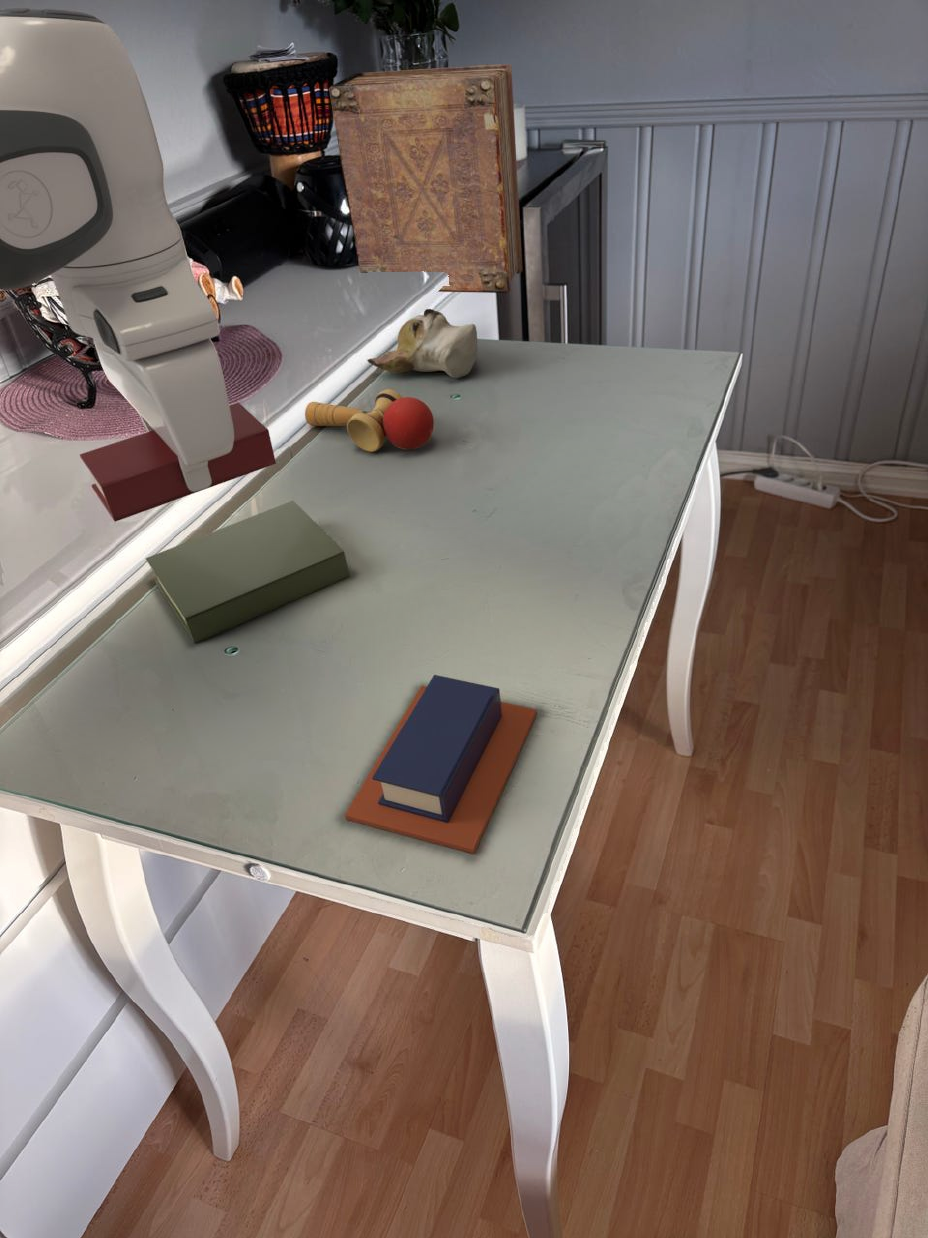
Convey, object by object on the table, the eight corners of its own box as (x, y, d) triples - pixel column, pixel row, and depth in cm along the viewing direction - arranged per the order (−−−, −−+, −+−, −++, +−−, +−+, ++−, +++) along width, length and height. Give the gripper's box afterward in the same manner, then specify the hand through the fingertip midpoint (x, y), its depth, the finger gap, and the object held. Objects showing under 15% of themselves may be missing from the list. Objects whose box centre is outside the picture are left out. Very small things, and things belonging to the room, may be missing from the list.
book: (524, 272, 151) (513, 63, 132) (509, 293, 144) (495, 75, 125) (382, 271, 158) (352, 72, 139) (362, 290, 151) (328, 85, 132)
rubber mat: (474, 854, 62) (473, 849, 62) (345, 819, 66) (344, 815, 65) (537, 713, 72) (536, 709, 72) (422, 689, 75) (421, 685, 75)
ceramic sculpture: (450, 327, 112) (355, 320, 119) (460, 393, 117) (368, 382, 125) (493, 297, 119) (401, 292, 126) (501, 361, 124) (411, 352, 131)
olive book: (194, 643, 83) (185, 618, 81) (154, 582, 91) (145, 558, 89) (349, 576, 89) (344, 550, 87) (299, 524, 97) (293, 500, 95)
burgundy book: (114, 522, 67) (101, 487, 65) (92, 488, 71) (79, 454, 69) (276, 463, 72) (268, 429, 70) (246, 435, 76) (238, 402, 74)
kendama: (295, 450, 113) (411, 460, 103) (285, 399, 110) (403, 404, 100) (336, 433, 118) (450, 440, 109) (327, 384, 115) (443, 387, 106)
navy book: (448, 823, 64) (443, 795, 62) (378, 804, 66) (372, 777, 64) (502, 715, 72) (499, 688, 70) (438, 701, 73) (434, 674, 72)
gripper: (46, 266, 68) (106, 434, 77) (126, 344, 54) (188, 538, 63) (128, 246, 70) (177, 411, 79) (225, 316, 56) (272, 507, 65)
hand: (183, 468), depth 71 cm, fingers closed on burgundy book, 5 cm apart
